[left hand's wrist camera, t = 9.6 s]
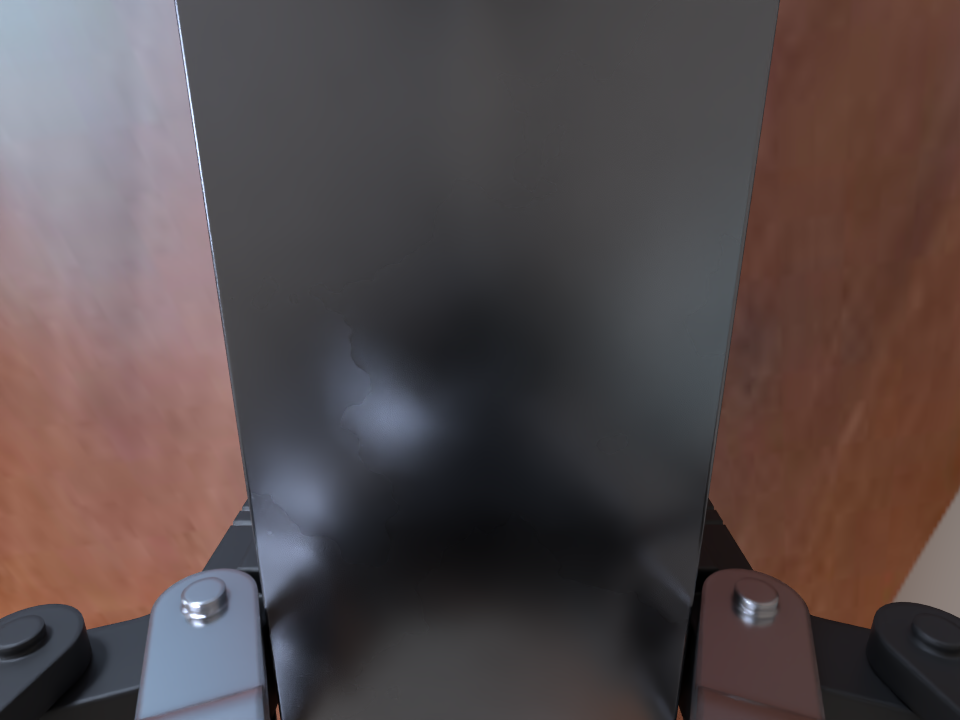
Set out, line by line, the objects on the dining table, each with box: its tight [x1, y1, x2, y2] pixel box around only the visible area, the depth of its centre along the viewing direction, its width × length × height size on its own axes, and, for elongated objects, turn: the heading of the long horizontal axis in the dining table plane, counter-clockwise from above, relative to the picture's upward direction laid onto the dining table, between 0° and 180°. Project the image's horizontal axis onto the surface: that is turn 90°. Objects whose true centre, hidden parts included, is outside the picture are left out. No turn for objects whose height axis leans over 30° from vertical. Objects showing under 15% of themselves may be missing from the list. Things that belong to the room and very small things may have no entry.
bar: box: [174, 0, 780, 720], centre depth 9 cm, size 25×5×9 cm, turn 0°
